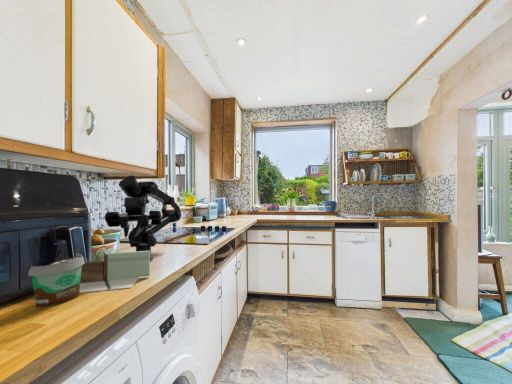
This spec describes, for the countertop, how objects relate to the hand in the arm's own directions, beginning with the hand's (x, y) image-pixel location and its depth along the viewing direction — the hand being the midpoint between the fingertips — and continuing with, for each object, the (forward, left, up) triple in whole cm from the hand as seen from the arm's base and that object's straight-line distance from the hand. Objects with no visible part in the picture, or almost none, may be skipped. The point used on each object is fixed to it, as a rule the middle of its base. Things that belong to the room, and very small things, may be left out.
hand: (130, 236), depth 82 cm
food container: (+20, -10, -13) cm, 25 cm away
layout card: (+9, -4, -13) cm, 16 cm away
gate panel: (+8, +2, -12) cm, 14 cm away
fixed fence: (+8, -8, -12) cm, 17 cm away
